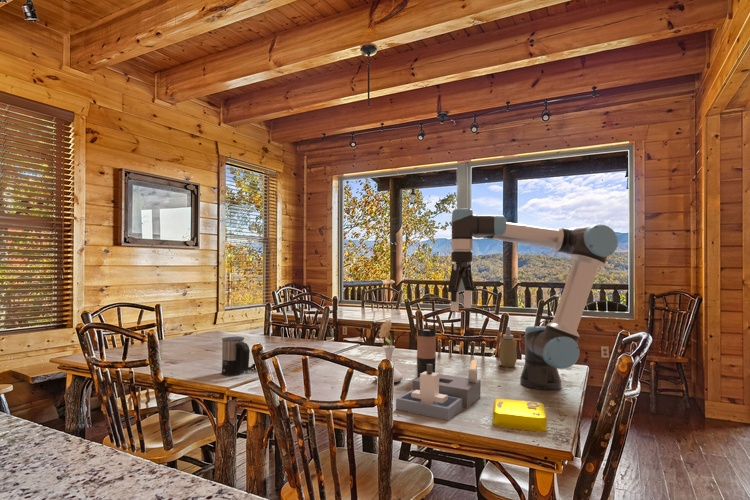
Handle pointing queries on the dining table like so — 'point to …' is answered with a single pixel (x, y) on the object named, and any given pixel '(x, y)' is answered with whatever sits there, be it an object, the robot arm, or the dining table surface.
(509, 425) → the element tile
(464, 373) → the dining table surface
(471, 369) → the clip
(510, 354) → the squeeze bottle
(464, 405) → the socket block
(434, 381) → the plug
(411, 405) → the tray
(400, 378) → the flower in vase
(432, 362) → the travel mug
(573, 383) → the dining table surface
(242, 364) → the milk frother
